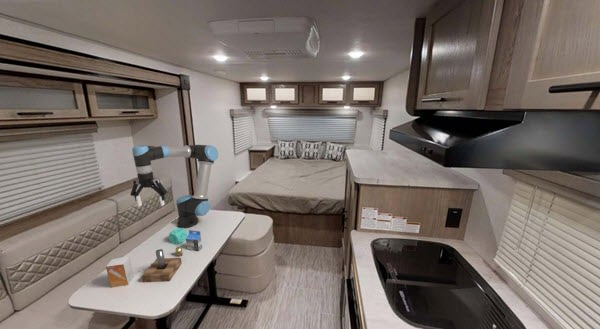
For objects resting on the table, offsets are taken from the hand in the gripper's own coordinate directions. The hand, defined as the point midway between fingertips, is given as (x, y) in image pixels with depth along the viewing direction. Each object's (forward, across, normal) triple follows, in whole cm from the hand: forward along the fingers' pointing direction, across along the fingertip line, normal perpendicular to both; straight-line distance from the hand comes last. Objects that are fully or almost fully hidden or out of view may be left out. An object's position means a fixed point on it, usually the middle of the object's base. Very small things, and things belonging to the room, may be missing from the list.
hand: (151, 205), depth 135 cm
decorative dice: (+33, +6, +12) cm, 36 cm away
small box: (+33, -6, -25) cm, 42 cm away
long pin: (+33, +12, -19) cm, 40 cm away
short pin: (+33, +14, -4) cm, 36 cm away
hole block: (+33, +12, -19) cm, 40 cm away
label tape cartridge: (+33, +21, +2) cm, 39 cm away
